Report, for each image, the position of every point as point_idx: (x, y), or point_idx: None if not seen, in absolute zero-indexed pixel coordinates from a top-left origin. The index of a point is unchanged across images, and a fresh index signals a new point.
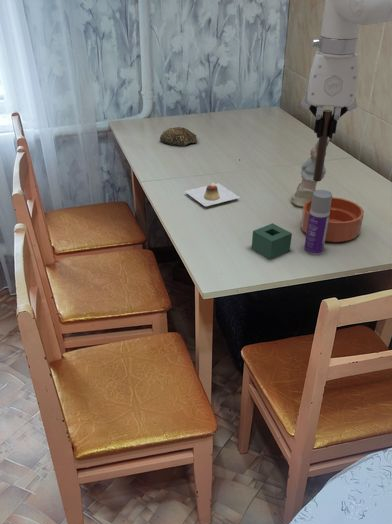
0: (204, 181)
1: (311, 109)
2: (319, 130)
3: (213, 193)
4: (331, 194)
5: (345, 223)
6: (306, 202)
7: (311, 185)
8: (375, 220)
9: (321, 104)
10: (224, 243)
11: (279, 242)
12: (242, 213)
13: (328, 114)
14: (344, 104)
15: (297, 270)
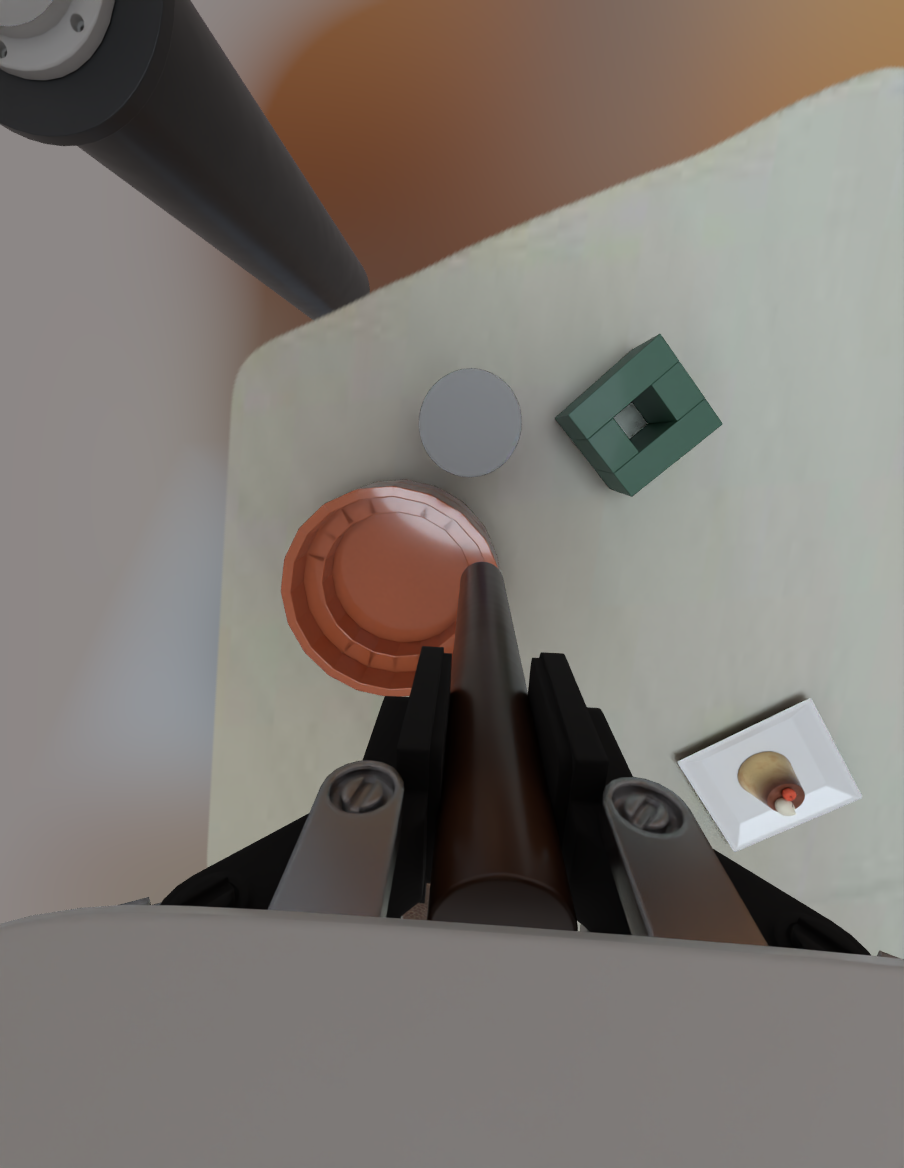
0: (766, 873)
1: (839, 939)
2: (565, 686)
3: (775, 771)
4: (424, 415)
5: (356, 489)
6: None
7: None
8: (254, 648)
9: (828, 969)
10: (777, 460)
11: (617, 368)
12: (676, 674)
13: (493, 846)
14: (116, 944)
15: (545, 276)
